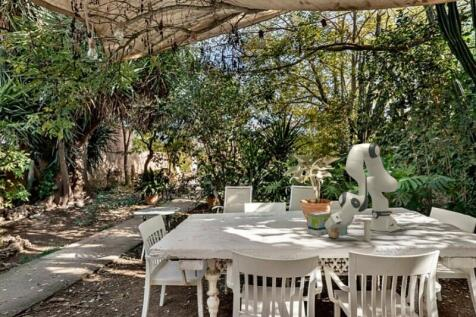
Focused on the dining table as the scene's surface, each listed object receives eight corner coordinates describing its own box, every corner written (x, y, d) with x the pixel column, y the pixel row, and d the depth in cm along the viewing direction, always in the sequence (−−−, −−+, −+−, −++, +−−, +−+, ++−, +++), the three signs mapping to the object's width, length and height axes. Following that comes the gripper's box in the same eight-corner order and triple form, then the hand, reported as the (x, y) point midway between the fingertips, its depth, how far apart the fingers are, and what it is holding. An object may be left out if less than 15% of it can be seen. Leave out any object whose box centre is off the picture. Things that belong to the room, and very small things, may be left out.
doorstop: (334, 235, 251) (333, 223, 251) (339, 236, 246) (338, 225, 246) (329, 236, 249) (328, 224, 248) (334, 237, 244) (333, 225, 244)
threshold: (349, 234, 256) (349, 234, 256) (364, 238, 244) (364, 238, 244) (346, 235, 255) (346, 234, 255) (361, 239, 243) (361, 238, 243)
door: (345, 233, 259) (345, 217, 259) (347, 233, 257) (347, 218, 257) (327, 236, 251) (326, 220, 251) (329, 236, 249) (329, 220, 249)
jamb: (367, 239, 242) (367, 220, 242) (370, 240, 240) (370, 220, 240) (363, 240, 241) (363, 220, 240) (366, 241, 238) (366, 221, 238)
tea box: (318, 236, 255) (317, 214, 254) (307, 233, 263) (307, 212, 262) (332, 232, 263) (332, 212, 263) (321, 230, 271) (321, 210, 271)
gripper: (352, 212, 246) (342, 224, 255) (328, 215, 236) (319, 227, 245) (357, 219, 242) (347, 231, 251) (333, 223, 233) (323, 235, 241)
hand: (333, 229), depth 248 cm, fingers closed on doorstop, 5 cm apart
